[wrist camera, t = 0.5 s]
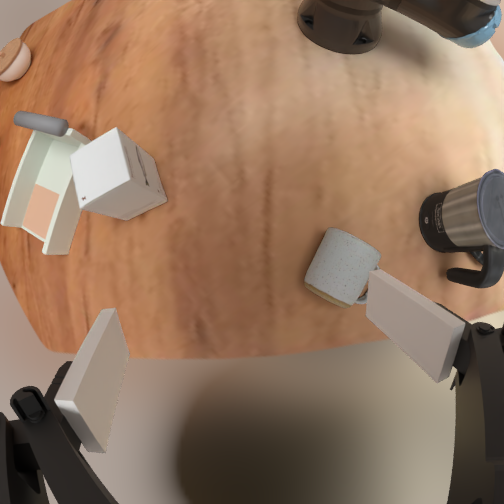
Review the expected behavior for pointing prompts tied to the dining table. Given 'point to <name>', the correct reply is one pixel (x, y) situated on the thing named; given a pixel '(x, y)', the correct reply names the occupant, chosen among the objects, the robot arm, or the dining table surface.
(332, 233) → the ceramic mug
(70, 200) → the tray
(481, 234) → the milk frother
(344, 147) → the dining table surface
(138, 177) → the supplement box
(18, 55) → the lidded jar
